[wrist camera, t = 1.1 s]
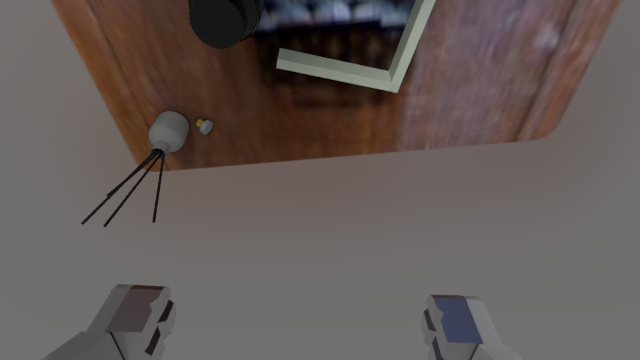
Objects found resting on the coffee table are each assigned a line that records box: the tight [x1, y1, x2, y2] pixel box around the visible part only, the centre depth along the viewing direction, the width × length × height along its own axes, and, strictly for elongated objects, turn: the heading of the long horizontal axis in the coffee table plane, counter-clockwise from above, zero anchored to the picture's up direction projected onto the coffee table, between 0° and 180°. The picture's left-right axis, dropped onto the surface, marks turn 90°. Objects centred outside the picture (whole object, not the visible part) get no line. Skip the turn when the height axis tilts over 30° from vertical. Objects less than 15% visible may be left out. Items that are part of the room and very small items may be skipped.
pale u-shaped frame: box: [276, 0, 436, 93], centre depth 40 cm, size 16×16×3 cm
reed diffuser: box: [81, 111, 213, 227], centre depth 45 cm, size 10×7×20 cm
